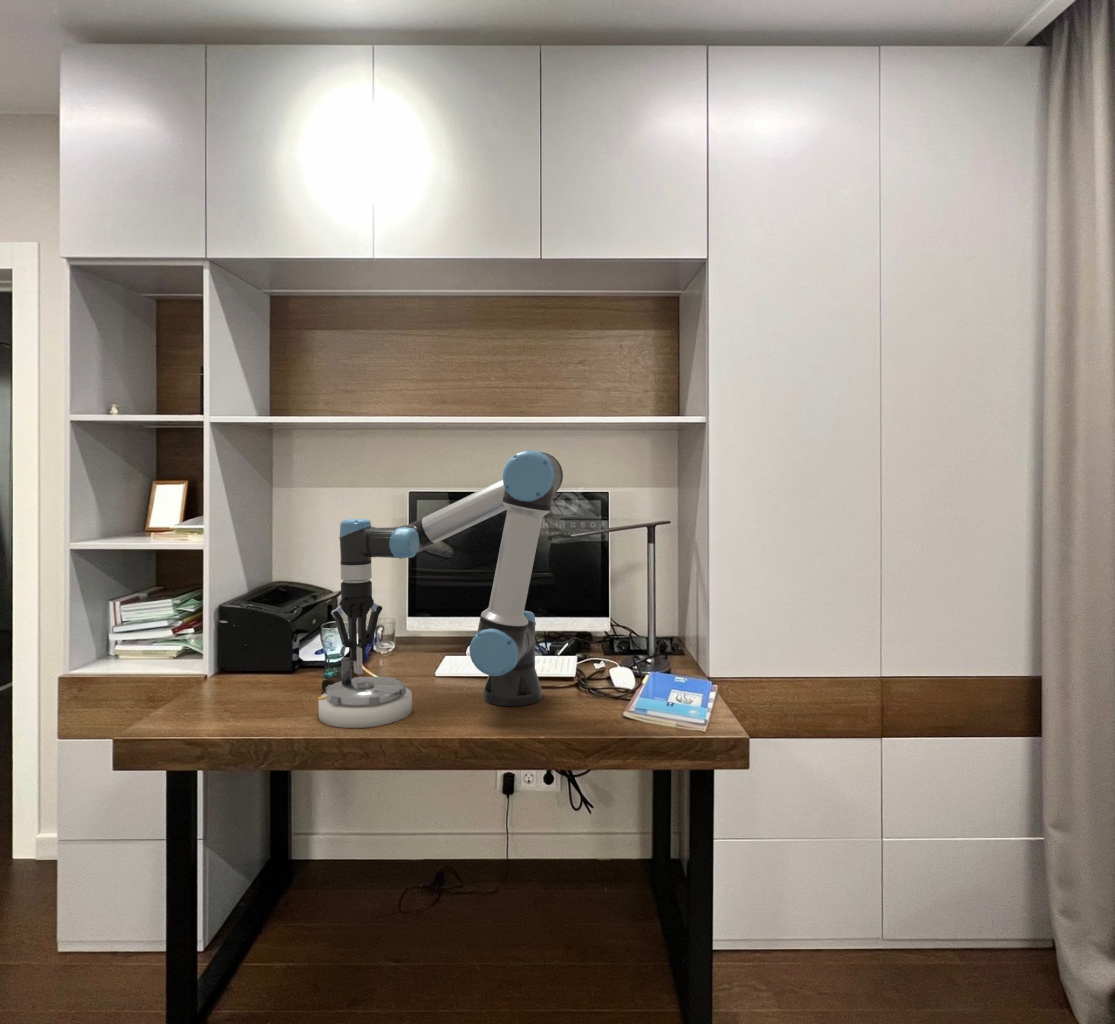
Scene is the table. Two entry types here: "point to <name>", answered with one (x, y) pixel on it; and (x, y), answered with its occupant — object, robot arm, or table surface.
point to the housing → (364, 712)
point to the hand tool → (337, 678)
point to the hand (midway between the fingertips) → (358, 672)
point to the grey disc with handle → (363, 689)
